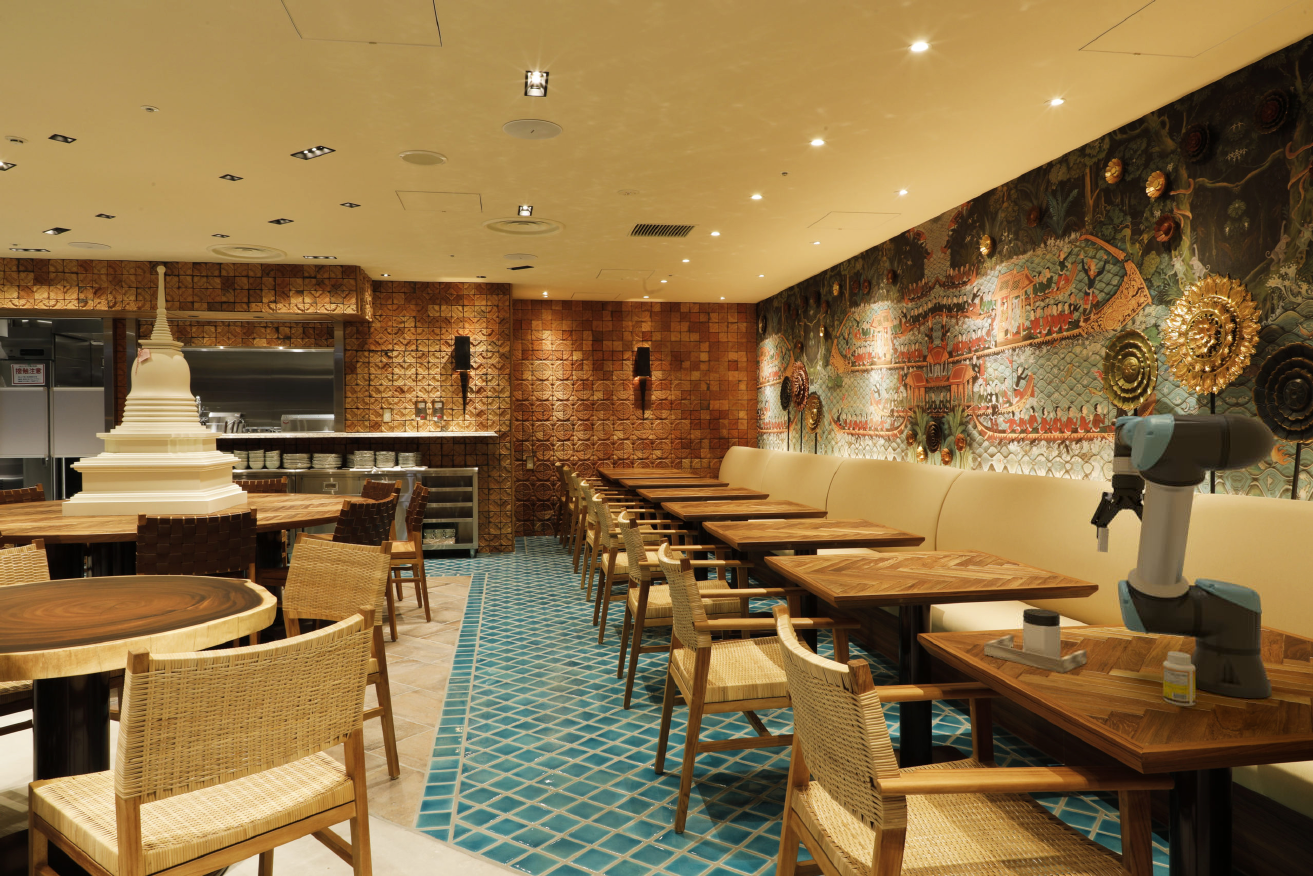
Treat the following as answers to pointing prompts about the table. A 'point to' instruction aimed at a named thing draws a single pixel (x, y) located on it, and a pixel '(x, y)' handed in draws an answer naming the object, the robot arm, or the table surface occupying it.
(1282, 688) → the table surface
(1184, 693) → the supplement bottle
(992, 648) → the corral
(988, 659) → the table surface
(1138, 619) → the robot arm
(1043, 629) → the jar
